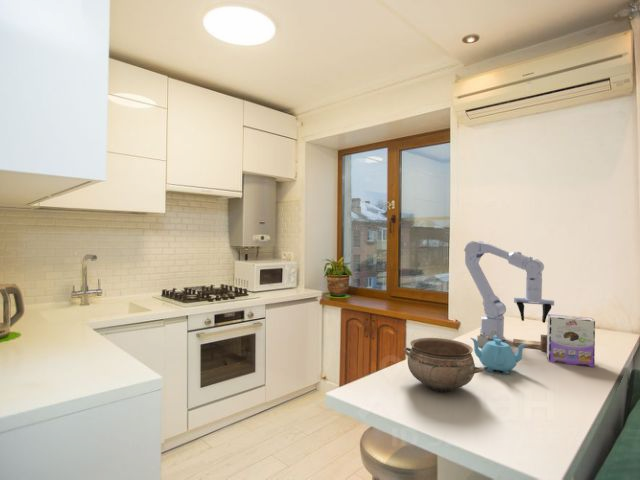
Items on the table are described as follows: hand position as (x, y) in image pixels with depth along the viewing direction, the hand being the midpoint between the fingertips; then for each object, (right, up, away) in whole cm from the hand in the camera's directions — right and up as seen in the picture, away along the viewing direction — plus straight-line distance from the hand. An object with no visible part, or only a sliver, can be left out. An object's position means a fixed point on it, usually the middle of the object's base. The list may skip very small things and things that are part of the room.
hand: (533, 321), depth 156 cm
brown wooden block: (+2, -10, -5) cm, 12 cm away
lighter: (-21, -10, -5) cm, 24 cm away
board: (0, -10, -2) cm, 10 cm away
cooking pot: (-53, -10, -46) cm, 71 cm away
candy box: (+1, -10, -21) cm, 23 cm away
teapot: (-29, -10, -30) cm, 42 cm away
